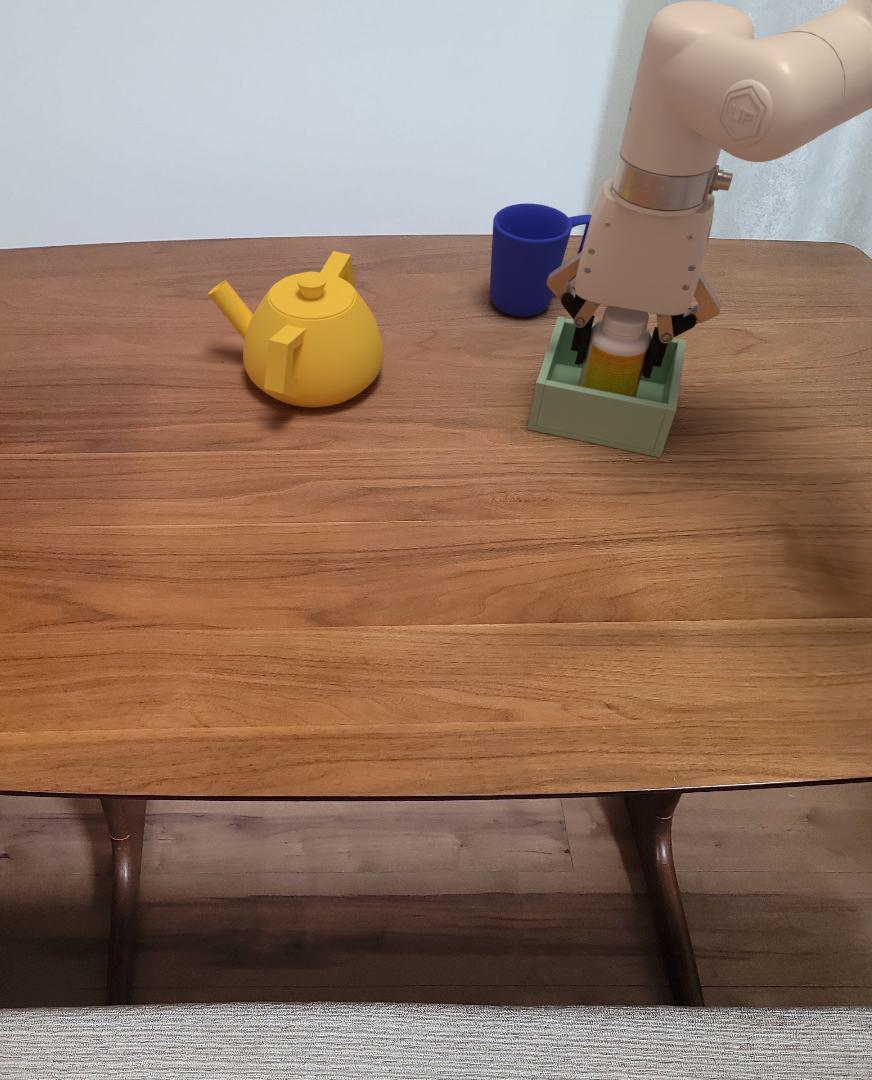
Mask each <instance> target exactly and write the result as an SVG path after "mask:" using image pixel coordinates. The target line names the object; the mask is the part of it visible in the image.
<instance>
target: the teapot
mask: <svg viewBox="0 0 872 1080" xmlns="http://www.w3.org/2000/svg"><path fill="white" fill-rule="evenodd" d="M353 268H354V267H353V261H352V254H349V253H344V252H340V251H335V250H333V251H332V252H331V254H330V255H329V257H328V258H327V260H326V262H325V264H324V265H323V266H322V268H321V270H320V272H319V271H315V270H314V271H304V272H299V273H295V274H291V275H288V276H285V277H284V278H281V279H280V280H279V281H277V282H276V283H274V284H273V285H272V286H271V288H270V289H268V291H267V292H266V294H265V295H264V296H263V298H262V300H261V301H260V303H259V304H258V306H257V307H256V309H255V311H254V313H253V312H252V311H251V310H250V309H249V308H248V306H247V305H246V304H245V302H244V301H243V300H242V298H241V297H240V295H238V293H237V292H236V291H235V289H234V288H233V287H232V286H231V285H230V283H229V282H228V281H227V279H225V280H222V281H221V282H219V283H218V284H217V285H215V286H214V287H213V288H212V289H210V291H209V292H207V295H208V297H209V298H210V299H211V300H212V301H213V303H214V304H215V305H216V307H217V308H218V309H219V310H220V312H221V313H222V314H223V315H224V317H225V318H226V319H227V320H228V322H229V323H230V324H231V325H232V327H233V328H234V329H235V330H236V332H237V333H238V334H239V336H240V337H241V338H242V339H243V341H244V343H243V349H242V360H243V367H244V370H245V372H246V374H247V375H248V377H249V379H250V381H252V383H253V384H254V385H256V387H258V388H259V389H260V390H261V391H262V392H264V393H265V394H267V395H268V396H270V397H272V398H273V399H275V400H277V401H279V402H280V403H284V404H287V405H291V406H294V407H301V408H327V407H332V406H336V405H339V404H343V403H345V402H347V401H349V400H352V399H353V398H355V397H356V396H358V395H359V394H361V393H362V392H363V391H364V390H365V389H366V388H369V386H370V385H371V384H372V383H373V382H374V381H375V380H376V379H377V377H378V375H379V374H380V371H381V369H382V367H383V362H384V343H383V338H382V335H381V332H380V328H379V327H380V326H379V325H378V323H377V320H376V317H375V316H374V314H373V312H372V310H371V309H370V307H369V306H368V305H367V303H366V302H365V300H364V299H363V298H362V296H361V294H360V293H359V292H358V290H357V289H356V280H355V273H354V269H353Z"/></svg>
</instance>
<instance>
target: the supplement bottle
mask: <svg viewBox="0 0 872 1080" xmlns="http://www.w3.org/2000/svg"><path fill="white" fill-rule="evenodd" d="M649 314H650V313H649V312H643V311H637V310H631V309H626V308H620V307H615V306H609V305H607V307H606V308H605V309H604V313H603V316H602V319H601V320H599V321H598V322H595V323H596V324H595V325H594V326H593V328H592V330H591V333H590V336H589V341H588V345H587V349H586V354H585V358H584V362H583V366H582V371H581V375H580V379H579V384H578V386H580V387H585V388H590V389H595V390H600V391H605V392H610V393H615V394H620V395H625V396H630V397H636V393H637V390H638V387H639V383H640V380H641V376H642V373H643V369H644V366H645V362H646V359H647V355H648V352H649V349H650V345H651V340H652V339H651V334H652V333H651V332H650V331H649V329H648V325H649V320H650V315H649ZM650 333H651V334H650Z"/></svg>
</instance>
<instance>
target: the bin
mask: <svg viewBox="0 0 872 1080" xmlns="http://www.w3.org/2000/svg"><path fill="white" fill-rule="evenodd" d="M573 320H574V319H573V318H568V317H564V316H563V317H562V316H557V318H556V321H555V323H554V327H553V330H552V333H551V335H550V339H549V342H548V345H547V347H546V351H545V354H544V357H543V360H542V364H541V365H540V366H541V367H540V369H539V373H538V375H537V378H536V382H535V387H534V391H533V395H532V396H533V397H532V401H531V407H530V410H529V411H530V412H529V417H528V422H527V428H526V429H527V430H530V431H534V432H539V433H543V434H549V435H552V436H557V437H562V438H568V439H571V440H576V441H581V442H585V443H590V444H594V445H600V446H605V447H609V448H614V449H618V450H623V451H628V452H632V453H637V454H642V455H647V456H651V457H656V458H661V457H662V454H663V451H664V448H665V445H666V442H667V439H668V436H669V433H670V431H671V427H672V424H673V421H674V418H675V414H676V413H677V408H678V403H679V402H678V401H679V395H680V388H681V382H682V375H683V369H684V361H685V356H686V349H687V342H688V340H687V339H683V338H677V337H674V338H673V340H672V341H671V342H670V343H668V345H667V348H666V351H665V355H664V358H663V361H662V364H661V367H656V366H653V369H652V372H651V376H650V379H649V378H644V376H641V380H640V383H639V387H638V390H637V393H636V397H630V396H625V395H620V394H615V393H610V392H605V391H600V390H595V389H590V388H585V387H580V386H578V384H579V379H580V375H581V371H582V366H583V364H580V365H577V364H575V361H576V357H577V351H572V350H571V346H572V341H573V337H574V332H575V328H576V326H575V325H574V323H573ZM596 323H597V322H593V325H592V328H593V326H594V325H595V324H596ZM650 334H651V338H652V335H653V333H651V332H650ZM583 362H584V361H583ZM642 374H643V373H642Z"/></svg>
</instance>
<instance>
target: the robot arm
mask: <svg viewBox="0 0 872 1080" xmlns="http://www.w3.org/2000/svg"><path fill="white" fill-rule="evenodd" d="M871 109H872V0H848V1H846V2H844V3H842V4H841V5H838V6H837V7H835V8H833V9H831V10H830V11H828V12H826V13H824V14H822V15H820V16H818V17H815V18H814V19H811V20H808V21H806V22H804V23H801V24H799V25H796V26H795V27H793V28H791V29H788V30H786V31H784V32H782V33H778V34H774V35H770V36H764V37H759V38H755V26H754V23H753V21H752V19H751V17H749V16H748V14H747V13H745V12H744V11H742V10H740V9H738V8H736V7H734V6H732V5H729V4H725V3H721V2H715V1H707V0H686V1H679V2H674V3H670V4H668V5H666V6H665V7H663V8H661V9H660V10H658V11H657V13H655V14H654V15H653V17H652V18H651V20H650V22H649V24H648V26H647V29H646V32H645V37H644V40H643V45H642V49H641V53H640V58H639V62H638V67H637V71H636V75H635V80H634V85H633V90H632V93H631V98H630V103H629V108H628V113H627V117H626V120H625V121H626V122H625V127H624V131H623V135H622V139H621V143H620V148H619V151H618V157H617V162H616V165H615V170H614V175H613V176H612V177H609V178H607V179H606V180H605V181H604V183H603V185H602V187H601V189H600V191H599V193H598V196H597V199H596V201H595V204H594V207H593V210H592V213H591V215H592V216H591V219H590V223H589V226H588V230H587V234H586V237H585V241H584V245H583V249H582V252H580V253H579V254H576V255H574V256H573V257H572V258H570V259H569V260H567V261H566V262H564V263H562V265H561V266H560V267H559V268H557V269H556V270H554V271H553V272H551V273H550V274H549V277H548V279H547V282H546V285H547V286H548V288H549V289H550V290H551V291H552V292H553V296H555V297H556V298H558V299H559V301H560V304H561V306H562V307H563V308H564V309H565V310H566V312H567V313H568V314H569V316H570V317H571V319H574V320H573V323H574V325H575V326H576V328H575V332H574V337H573V341H572V346H571V350H572V351H577V357H576V361H575V364H577V365H580V364H583V361H584V358H585V354H586V349H587V345H588V341H589V336H590V333H591V330H592V325H593V323H594V321H595V318H596V317H595V315H594V314H595V313H596V311H597V309H598V308H599V307H600V306H601V305H605V306H615V307H620V308H626V309H631V310H637V311H643V312H648V314H655V315H656V324H657V325H656V326H654V327H653V331H652V334H653V335H652V338H651V339H652V340H651V345H650V349H649V352H648V355H647V359H646V362H645V366H644V369H643V374H642V376H644V378H649V379H650V376H651V372H652V369H653V366H656V367H661V364H662V361H663V358H664V355H665V351H666V348H667V345H668V343H670V342H671V341H672V340H673V338H677V337H678V336H680V335H682V334H684V333H686V332H688V331H690V330H691V329H693V328H695V327H696V325H699V324H702V323H705V322H707V321H709V320H710V319H714V318H715V317H717V316H718V315H719V314H720V313H721V301H720V299H719V298H718V296H717V295H716V293H715V291H714V290H713V288H712V286H711V285H710V283H709V282H708V280H707V279H706V277H705V275H704V274H703V272H702V269H703V265H704V262H705V257H706V253H707V249H708V244H709V240H710V237H711V230H712V225H713V220H714V213H715V195H714V194H713V192H719V191H729V190H730V187H731V184H732V180H733V176H734V172H733V173H732V172H726V171H725V170H724V169H720V165H719V164H717V163H718V161H719V157H720V155H721V151H724V152H725V153H727V154H729V155H730V156H732V157H735V158H737V159H740V160H743V161H746V162H751V163H765V162H766V163H767V162H770V161H776V160H778V159H780V158H783V157H785V156H787V155H789V154H791V153H792V152H795V151H796V150H799V149H800V148H801V147H803V146H805V145H807V144H808V143H810V142H813V141H814V140H816V139H817V138H818V137H821V136H822V135H824V134H825V133H827V132H830V131H831V130H833V129H834V128H836V127H838V126H840V125H843V124H845V123H846V122H848V121H850V120H852V119H854V118H855V117H857V116H860V115H861V114H863V113H865V112H867V111H869V110H871ZM575 276H576V277H575ZM574 277H575V278H574ZM572 278H574V279H575V282H574V287H573V286H571V283H570V282H568V281H569V280H571V279H572ZM571 281H572V280H571ZM694 299H695V300H696V303H697V304H695V305H694V306H693V307H691V305H692V302H693V300H694Z"/></svg>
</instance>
